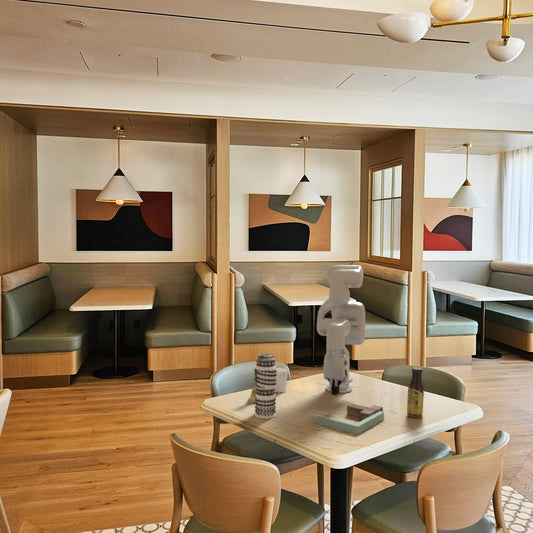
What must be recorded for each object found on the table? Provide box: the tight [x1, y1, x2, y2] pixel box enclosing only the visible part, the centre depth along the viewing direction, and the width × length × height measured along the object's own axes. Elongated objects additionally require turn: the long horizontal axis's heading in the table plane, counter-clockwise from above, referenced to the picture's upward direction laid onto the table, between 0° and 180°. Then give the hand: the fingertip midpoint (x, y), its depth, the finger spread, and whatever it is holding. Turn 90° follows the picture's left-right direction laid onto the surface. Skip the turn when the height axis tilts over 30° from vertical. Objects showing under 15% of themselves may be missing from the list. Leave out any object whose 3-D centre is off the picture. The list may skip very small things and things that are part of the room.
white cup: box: [275, 367, 289, 393], centre depth 250 cm, size 8×8×10 cm
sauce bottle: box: [406, 366, 425, 419], centre depth 214 cm, size 6×6×20 cm
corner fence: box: [316, 411, 385, 435], centre depth 207 cm, size 22×18×3 cm
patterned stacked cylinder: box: [254, 352, 277, 419], centre depth 214 cm, size 9×9×25 cm
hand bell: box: [247, 370, 257, 404], centre depth 233 cm, size 8×8×16 cm
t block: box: [346, 403, 384, 423], centre depth 212 cm, size 12×12×4 cm
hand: (335, 394), depth 222 cm, fingers closed
